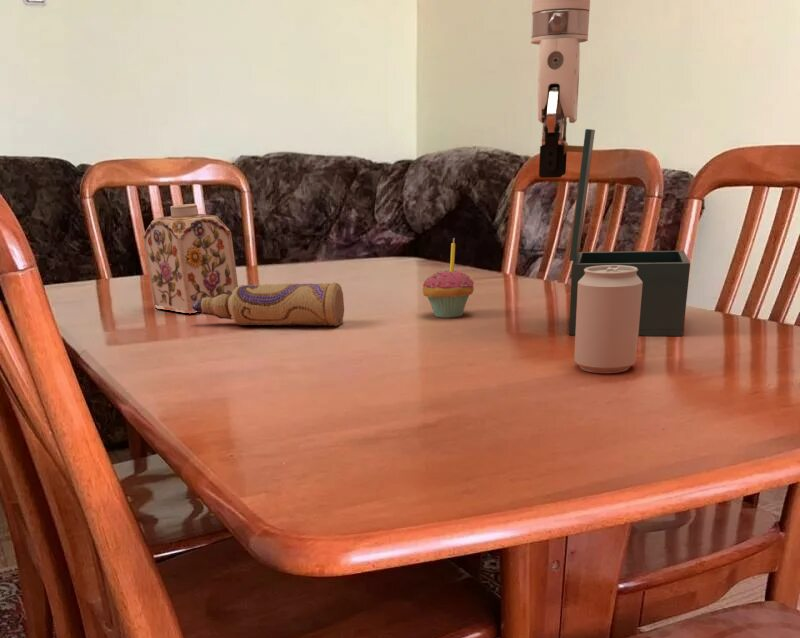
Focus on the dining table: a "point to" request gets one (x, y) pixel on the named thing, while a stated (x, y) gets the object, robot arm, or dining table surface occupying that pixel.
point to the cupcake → (448, 290)
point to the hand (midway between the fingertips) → (552, 174)
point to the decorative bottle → (278, 304)
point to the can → (607, 318)
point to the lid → (581, 188)
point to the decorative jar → (189, 258)
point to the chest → (645, 287)
